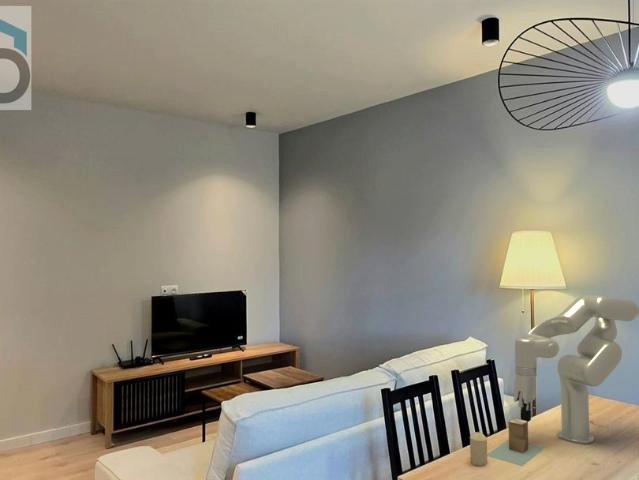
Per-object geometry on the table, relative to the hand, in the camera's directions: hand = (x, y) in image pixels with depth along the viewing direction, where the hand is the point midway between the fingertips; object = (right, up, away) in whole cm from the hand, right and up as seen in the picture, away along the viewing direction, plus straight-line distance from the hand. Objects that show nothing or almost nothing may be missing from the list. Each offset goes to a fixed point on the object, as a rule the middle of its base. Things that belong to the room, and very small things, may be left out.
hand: (525, 420), depth 183 cm
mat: (-7, -9, -8) cm, 14 cm away
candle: (-23, -9, -15) cm, 29 cm away
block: (-5, -9, -6) cm, 11 cm away
